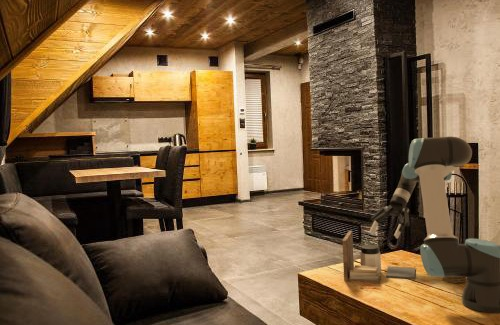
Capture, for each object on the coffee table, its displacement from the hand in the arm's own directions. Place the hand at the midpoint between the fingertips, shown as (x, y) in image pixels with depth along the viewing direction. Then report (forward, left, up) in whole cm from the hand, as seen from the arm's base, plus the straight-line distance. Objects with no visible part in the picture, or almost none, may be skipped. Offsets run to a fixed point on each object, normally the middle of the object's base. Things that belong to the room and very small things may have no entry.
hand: (383, 235), depth 204 cm
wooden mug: (-15, -31, -16) cm, 38 cm away
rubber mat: (-8, -8, -15) cm, 19 cm away
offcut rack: (-14, +8, -15) cm, 22 cm away
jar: (-9, +5, -16) cm, 19 cm away
